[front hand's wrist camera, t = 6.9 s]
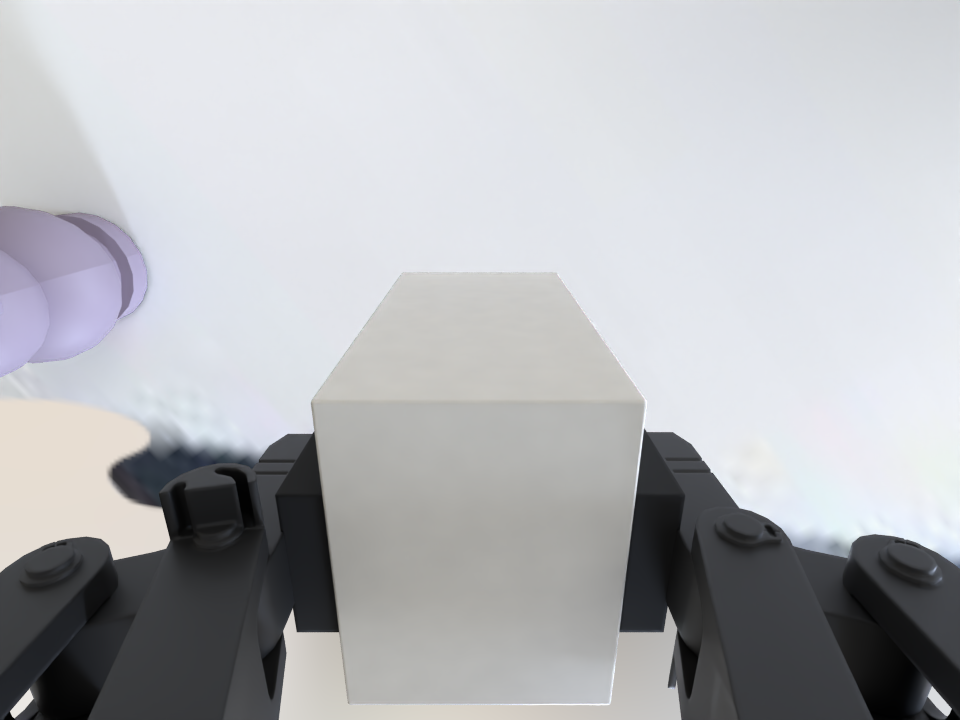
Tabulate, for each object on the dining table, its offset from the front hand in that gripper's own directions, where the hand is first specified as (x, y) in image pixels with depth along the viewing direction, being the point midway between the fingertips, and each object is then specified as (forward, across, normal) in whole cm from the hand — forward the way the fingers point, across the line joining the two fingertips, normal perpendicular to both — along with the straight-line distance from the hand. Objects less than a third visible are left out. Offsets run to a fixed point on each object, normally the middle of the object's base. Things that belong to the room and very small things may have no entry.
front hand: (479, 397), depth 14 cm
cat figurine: (+18, -23, 0) cm, 29 cm away
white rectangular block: (+3, 0, 0) cm, 3 cm away
